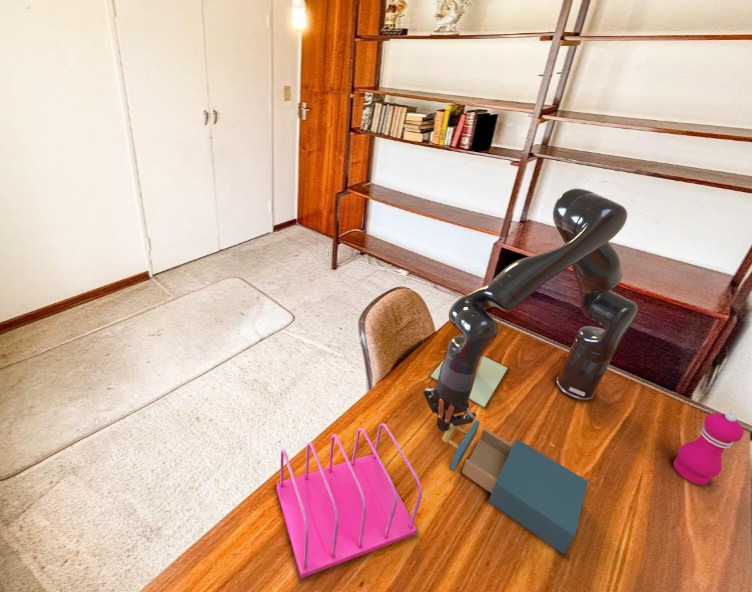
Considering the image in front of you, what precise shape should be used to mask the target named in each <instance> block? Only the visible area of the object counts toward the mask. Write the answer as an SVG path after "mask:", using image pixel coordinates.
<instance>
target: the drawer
mask: <svg viewBox="0 0 752 592" xmlns="http://www.w3.org/2000/svg"><path fill="white" fill-rule="evenodd" d="M480 424H481V421H480V420H478V419H476V418H475V419H474V420H473V422H472V423H471V426H470V427H469V429H468V431H466V430H464V429H463V428H461V427H459V426H453V425H452V423H451V424H450V427H449V428H448V430H447V431H445V432H444V434H443V436H442V437H441V440H442V442H443V443H448V444H450V445H451V446H452V447H454V448H456V451H455V452H454V454H453V457H452V460H451V463H450V466H449V469H450V470H451V471H453V472H456V470H457V468H458V466H459V465H460V463H461V461H462V460H463V458H464V456H465V454H466V452H468V449H469V447H470V446H471V444H472V442H473V441H474V439H475V438H476V435H477V432H478V430H479V427H480ZM456 430H457V431H458V432H460V433H461V434H463V435H465V436H464V438H463V439H462V441H461V442H460V444H457V443H456V442H454V441H453V440H451V439H450V438H451V437H452V436H453V434H454V432H455V431H456ZM513 445H514V444H512V443H511V442H509V441H508V440H506V439H505V438H502V437H501V436H499V435H497V434H496V433H495V432H493V431H491V430H489V429H488V428H486V427H483V429H482V432H481V435H480V438H479V440H478V441H477V444H476V445H475V447H474V449H473V451H472V452H471V454H470V456H469V457H468V458H465V460H464V461H465V462H464V464H463V467H462V470H461V474H463V475H464V476H465V477H467V478H469V479H470V480H471V481H473V482H474V483H476V484H477V485H478V486H479V487H481V488H483V489H484V490H485V491H487V492H489V493H490V494H492V491H493V489H494V486H495V484H496V481H497V479H498V477H499V475H500V473H501V471H502V469H503V466H504V464H505V462H506V460H507V458H508V456H509V454H510V451H511V449H512V447H513Z"/></svg>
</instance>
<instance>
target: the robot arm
mask: <svg viewBox="0 0 752 592" xmlns="http://www.w3.org/2000/svg"><path fill="white" fill-rule="evenodd" d="M552 209H553V210H552V220H553V223H554V226H555V227H556V229H557V231H558V233H559V235H560V236H561V238H562V240H563V242H564V244H561V246H558V247H555V248H554V249H550V250H547V251H544V252H542V253H538V254H534V255H530V256H527V257H524V258H521V259H517V260H516V261H513V262H512V263H510V264H509V265H508V266H506V267H505V268H504V269H503V270H502V271H501V272H500V273H498V274H497V275H496V276H495V277H494V278H493V279H492V280H491V281H489V283H487V284H486V285H484V286H482V287H479V288H478V289H476V290H474V291H471V292H470V293H468V294H466V295H464V296H462V297H460V298H459V299H457V300H456V301H455V302H453V304H452V305H451V307H450V309H449V311H448V320H449V322H450V323H451V324H452V325H453V327H454V328H456V330H457V331H458V332H459V333H460V334H461V335H456V336H453V337H452V338H451V339H450V340H449V342H448V344H447V348H446V351H445V355H444V359H443V360H444V361H443V360H442V361H443V363H442V362H441V363H442V366H441V368H440V373H439V377H438V380H436V385H435V386H434V387H432V386H430V385H428V386H427V387H426V388H425V389H424V390H423V396H424V397H425V400H426V402H427V404H428V406H429V408H430V411H431V413H433V414H436V415H437V420H436V426H437V429H438V430H439V431H440V432H442V433H445V432H446V431H447V430H448V428H449V427H450V425H451V423H452V425H453V426H458V427H459V426H463V425H468V424H473V423H474V421H475V419H476V418H477V414H476V412H474V411H471V410H470V403H469V400H470V399H469V397H470V394H471V391H472V387H473V384H474V381H475V378H476V371H477V367H478V364H479V361H480V358H481V356H482V355H483V354H484V355H485V352H486V351H487V350H488V349H489V348H490V346H491V345H492V344H493V343H494V341H495V340H496V339H497V337H498V333H499V326H498V322H497V321H496V319H494V317H492V316H491V315H490V314H489V313H488V312H487V311H486V310H488V309H490V308H497V309H499V310H501V311H502V312H505V313H510V312H512V311H514V310H515V309H516V308H518V307H519V306H520V305H521V304H522V303H523V302H525V301H526V300H527V299H528V298H530V296H531V295H533V294H534V293H535V292H536V291H537V290H538V289H539V288H541V287H542V286H543V285H545V284H546V283H547V282H548V281H551V279H553V278H554V277H556V276H558V275H559V274H560V273H562V272H564V271H566V270H567V269H569V268H571V269H572V271H573V274H574V277H575V280H576V282H577V283H576V284H577V287H578V291H579V292H578V293H579V305H580V310H581V312H582V314H583V315H584V316H585V317H586V318H588V319H589V320H591V321H592V322H595V323H596V324H598V325H600V326H601V327H599V326H593V325H585V326H582V327H580V328H579V329H578V330H577V332H576V334H575V336H574V338H573V341H572V344H571V346H570V349H569V351H568V353H567V355H566V357H565V360H564V362H563V364H562V366H561V369H560V371H559V373H558V375H557V377H556V379H555V385H556V386H557V388H558V389H559V390H560V391H561V392H562V393H563V394H564V395H566V396H568V397H570V399H574V400H577V401H580V402H589V401H591V400H593V398H594V396H595V393H596V391H597V389H598V387H599V385H600V383H601V381H602V379H603V378H604V376H605V373H606V371H607V370H608V367H609V366H610V364H611V361H612V359H613V357H614V355H615V353H616V351H617V349H618V348H619V346H620V344H621V343H622V341H623V340H624V337H625V336H626V334H627V332H628V330H629V329H630V327H631V326H632V324H633V323H634V321H635V319H636V318H637V315H638V311H639V306H638V304H637V303H636V302H634V301H632V300H630V299H628V298H626V297H624V296H622V295H620V294H618V293H616V292H614V291H612V290H613V289H615V288H616V287H617V286H618V285H619V284H620V283H621V281H622V278H623V268H622V262H621V258H620V255H619V254H618V252H617V250H616V249H615V248H614V246H613V245H612V244H611V243H610V241H611V240H612V239H614V237H616V236H617V235H618V234H619V233H620V231H621V230H622V229H623V228H624V226H625V225H626V222H627V220H628V210H627V209H626V208H625V207H624V206H623V205H621V204H619V203H618V202H615V201H614V200H611V199H609V198H607V197H604V196H602V195H600V194H597V193H596V192H594V191H591V190H588V189H585V188H571V189H568V190H566V191H564V192H563V193H562V194H561V195H559V197H558V198H557V199H556V201H555V203H554V206H553V208H552ZM602 327H603V328H602ZM484 355H483V356H484ZM461 413H462V414H461ZM455 415H456V416H455Z"/></svg>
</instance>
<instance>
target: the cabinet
mask: <svg viewBox="0 0 752 592" xmlns="http://www.w3.org/2000/svg"><path fill="white" fill-rule="evenodd" d="M512 445H513V447H512V449H511V451H510V454H509V456H508V458H507V460H506V462H505V464H504V466H503V469H502V471H501V473H500V475H499V477H498V479H497V481H496V484H495V486H494V489H493V491H492V493H490V496H489V499H488V503H490V504H492V505H493V506H494V507H495V508H497V509H499V510H500V511H501V512H502V513H504V514H506V515H507V516H508V517H509V518H511V519H512V520H514V521H515V522H517V523H518V524H519V525H521V526H522V527H524V528H525V529H527V530H528V531H530V532H531V533H532V534H534V535H535V536H536V537H538V538H539V539H541V540H542V541H544V542H545V543H546V544H548V545H549V546H550V547H552V548H553V549H555V550H556V551H557V552H559V553H561V554H562V555H564V554H565V553H566V551H567V550H568V548H569V546H570V545H571V543H572V541H573V540H574V538H575V536H576V533H577V529H578V525H579V521H580V517H581V513H582V512H581V511H582V508H583V505H584V501H585V496H586V492H587V489H588V485H589V480H587V479H586V478H584V477H582V476H581V475H579V474H577V473H576V472H574V471H572V470H571V469H569V468H567V467H565V466H564V465H562V464H560V463H559V462H557V461H555V460H554V459H552V458H551V457H548V456H546V455H545V454H543V453H542V452H540V451H539V450H536V449H535V448H533V447H531V446H530V445H528V444H526V443H525V442H524V441H522V440H520V439H518V438H516V439H515V441H514V443H513V444H512Z"/></svg>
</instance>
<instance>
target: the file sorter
mask: <svg viewBox="0 0 752 592" xmlns="http://www.w3.org/2000/svg"><path fill="white" fill-rule="evenodd" d="M382 428H384V429H385V430H386V432H387V434H388V435H389V438H390V439H391V441H392V442H393V444H394V445H395V448H396V449H397V450H398V452H399V454H400V456H401V457H402V459H403V460H404V462H405V465H406V467H407V469H409V471H410V473H411V474H412V477H413V478H414V480H415V482H416V486H417V490H418V491H417V492H418V493H417V498H416V502H415V504H414V508H413V512H412V515H410V514H409V511H408V509H407V507H406V506H405V504H404V502H403V501H402V498H401V497H400V495H399V493H398V491H397V489H396V487H395V485H394V482H393V480H392V478H391V476H390V475H389V473H388V471H387V469H386V467H385V466H384V463H383V461H382V459H381V457H380V456H379V453H378V448H379V444H380V439H381V433H382ZM361 432H362V434H363V436H364V437H365V439H366V441H367V443H368V445H369V447H370V449H371V451H372V454H369V455H365V456H362V457H359V458H356V457H357V451H358V446H359V441H360V435H361ZM335 441H336V443H337V446H338V447H339V449H340V452H341V454H342V456H343V458H344V460H345V462H342V463H338V464H336V465H333V458H334V457H333V456H334V446H335ZM354 441H355V442H354V447H353V452H352V458H351V460H350V459H349V457H348V454H347V453H346V451H345V449H344V447H343V445H342V442H341V440H340V438H339V437H338V435H337V434H336V433H333V434H332V435H331V439H330V449H329V459H328V460H329V462H328V467H325V468H323V466H322V464H321V461H320V459H319V456H318V454H317V452H316V448H315V447H314V445H313V443H312V441H309V442H307V443H306V455H305V472H304V473H305V474H301V475H299V476H296V477H295V476H294V472H293V469H292V466H291V463H290V460H289V457H288V454H287V451H286V449H280V481H278V482H276V493H277V496H278V499H279V504H280V506H281V507H280V508H281V511H282V514H283V517H284V521H285V525H286V529H287V532H288V536H289V541H290V544H291V547H292V551H293V554H294V555H293V556H294V559H295V563H296V565H297V569H298V572H299V577H300V579H304V578H306V577H308V576H311V575H313V574H316V573H319V572H322V571H325V570H327V569H330V568H332V567H335V566H337V565H340V564H342V563H345V562H348V561H350V560H353V559H355V558H359V557H361V556H364V555H366V554H369V553H371V552H374V551H376V550H379V549H382V548H384V547H387V546H389V545H392V544H395V543H397V542H400V541H402V540H406V539H408V538H410V537H413V536H416V534H417V531H418V530H417V527H416V525H415V520H416V516H417V513H418V510H419V507H420V505H421V500H422V498H423V497H422V496H423V489H422V485H421V481H420V479H419V477H418V475H417V473H416V472H415V470H414V468H413V466H412V465H411V463H410V461H409V460H408V458H407V456H406V454H405V453H404V451H403V450H402V448H401V445H400V444H399V443H398V441H397V439H396V438H395V437H394V435H393V433H392V432H391V430H390V429H389V427H388V426H387V424H386V423H384V422H382V423H380V424H379V425H378V430H377V434H376V439H375V445H374V444H373V443H372V441H371V439H370V437H369V435H368V433H367V432H366V430H365V429H364V428H363V427H360V428H358V429H357V431H356V435H355V440H354ZM310 449H311V450H310ZM310 451H311V452H312V454H313V457H314V459H315V462H316V464H317V467H318V470H316V471H312V472H309V468H310V467H309V465H310ZM284 460H285V461H284ZM284 463H286V466H287V469H288V472H289V476H290V478H288V479H286V480H284V468H285V467H284Z"/></svg>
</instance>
